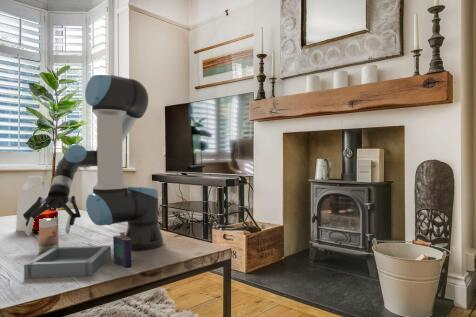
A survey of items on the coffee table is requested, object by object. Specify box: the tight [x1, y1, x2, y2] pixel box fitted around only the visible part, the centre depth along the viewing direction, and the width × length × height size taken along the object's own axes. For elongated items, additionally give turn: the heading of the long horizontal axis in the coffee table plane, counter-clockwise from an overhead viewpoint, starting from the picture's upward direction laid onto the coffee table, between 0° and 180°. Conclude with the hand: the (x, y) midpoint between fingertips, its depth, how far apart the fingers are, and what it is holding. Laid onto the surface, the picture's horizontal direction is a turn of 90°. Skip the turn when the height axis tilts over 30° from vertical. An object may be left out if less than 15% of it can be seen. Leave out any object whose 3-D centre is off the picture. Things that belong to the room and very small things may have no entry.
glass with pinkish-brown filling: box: [38, 217, 60, 254], centre depth 126 cm, size 6×6×12 cm
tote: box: [23, 244, 112, 279], centre depth 107 cm, size 19×19×4 cm
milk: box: [15, 175, 51, 232], centre depth 167 cm, size 12×12×26 cm
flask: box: [112, 231, 133, 269], centre depth 109 cm, size 9×3×11 cm, turn 48°
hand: (47, 232), depth 126 cm, fingers open, 13 cm apart
